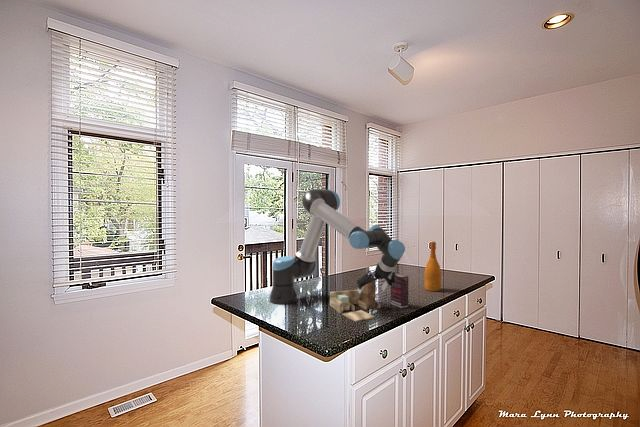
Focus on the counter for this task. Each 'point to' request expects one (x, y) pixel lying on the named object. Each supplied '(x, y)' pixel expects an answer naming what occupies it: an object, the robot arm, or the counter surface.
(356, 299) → the rack
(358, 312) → the cork pad
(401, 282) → the supplement box
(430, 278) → the wine bottle
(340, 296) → the sage offcut
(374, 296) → the brown rectangular block
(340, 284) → the counter surface
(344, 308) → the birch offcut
